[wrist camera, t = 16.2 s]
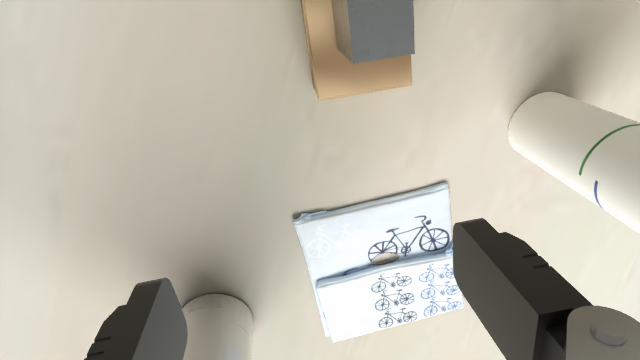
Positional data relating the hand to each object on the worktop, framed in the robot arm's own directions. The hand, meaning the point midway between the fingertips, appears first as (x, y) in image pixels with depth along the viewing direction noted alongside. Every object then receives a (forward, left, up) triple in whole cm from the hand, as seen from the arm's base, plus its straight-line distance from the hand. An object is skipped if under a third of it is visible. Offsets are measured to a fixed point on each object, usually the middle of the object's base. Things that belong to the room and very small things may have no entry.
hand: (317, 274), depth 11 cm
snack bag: (-25, -8, -29) cm, 39 cm away
